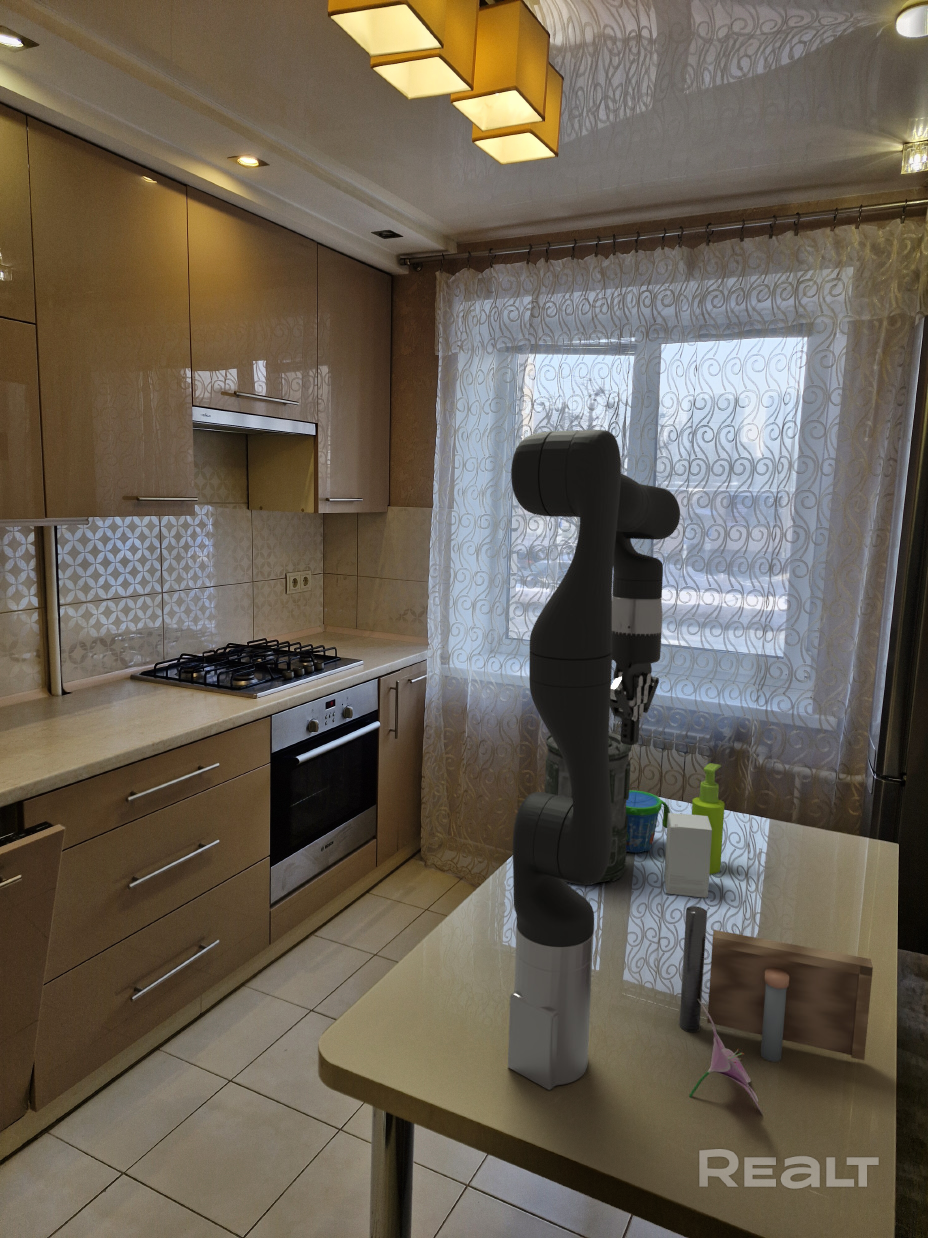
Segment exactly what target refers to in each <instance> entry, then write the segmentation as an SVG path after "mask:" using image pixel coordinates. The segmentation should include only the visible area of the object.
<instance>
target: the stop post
mask: <svg viewBox="0 0 928 1238" xmlns="http://www.w3.org/2000/svg"><path fill="white" fill-rule="evenodd" d="M764 980H765V982H766V988H765V1001H764V1015H763V1028H762V1035H761V1043H760V1044H761V1045H760V1055H761V1057H762V1058H763V1059H764V1060H765V1061H768V1062H772V1063H773V1062H774V1063H777V1062H780V1061H781V1060H782V1054H783V1053H782V1050H783V1041H784V1040H783V1028H784V1015H785V1003H786V990H787V987H788V986H789V975H788V974H787V973H786V972H785V971H783V970H780V969H776V968H769V969H766V970H765V978H764Z"/></svg>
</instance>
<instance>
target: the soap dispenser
mask: <svg viewBox="0 0 928 1238" xmlns="http://www.w3.org/2000/svg"><path fill="white" fill-rule="evenodd" d="M721 767H722V764H717V763H710V762H709V763H707V765H705V766H704V768H703V772H704V773H705V777H704V778H705V779H704V781H701V782H700V785H699V787H700V788H699V796H697V797H694V798H692V803H691V815H701V816H708V819H709V822H710V825H711V828H712V837H711V853H710V870H709V875H715V874H717V873H720V872H721V866H722V865H721V864H722V849H723V837H724V836H723V835H724V834H723V833H724V821H725V819H724V818H725V802H724V801H722V800H721V799H719V791H720V790H719V789H720V786H719V783H717V782H716V781H715V779H716V771H717V770H718V769H719V768H721Z"/></svg>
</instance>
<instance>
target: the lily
mask: <svg viewBox="0 0 928 1238" xmlns="http://www.w3.org/2000/svg"><path fill="white" fill-rule="evenodd" d="M698 1001H699V1000H698ZM699 1002H700V1001H699ZM700 1004H701V1008H702V1009H703V1010H704V1012H705V1014H706V1015H707V1018H708V1017H709V1019H710V1021H711V1023H712V1024H711V1023H709V1024H710V1027H711V1029H712V1032H713V1041H712V1049H711V1050H712V1051H711V1052H712V1053H711V1060H710V1061H711V1062H710V1067H709V1068H708V1070H707V1071H706V1072H705V1073H704V1074H703V1075H702V1076H701V1077H700V1078H699V1080H698V1081H697V1082H696V1084H695V1086H693V1088H692V1090H691V1092H690V1094H689V1095H688V1097H689V1098H692V1097H693V1096H694V1094H695V1092H696V1090H697V1089H698V1088H699V1086H700V1084H701V1083H702V1082H703V1081H704V1079H706V1077H707V1076H709V1075H710V1074H711V1073H712V1072H714V1073H717V1074H721V1075H723V1076H725V1077H727V1078H729V1079H731V1080H733V1081H734V1082H735V1083H738V1084H739V1085H741V1087H742V1088H744V1090H745V1091H746V1092H747V1093H748V1095H749V1096H750V1098H751V1099H752V1100H753V1102H754V1104H755V1105H756V1107H757V1109H758V1110H759V1112H760V1113H761V1114H763V1113H762V1109H761V1108H760V1106H759V1104H758V1103H759V1099H758V1096H757V1094H756V1092H755V1091H754V1090H753V1089H752V1087H751V1086H750V1085H749V1083H751V1081H752V1080H751V1078H750V1076H749V1075H748V1073H747V1070H746V1069H745V1068H744V1065H743V1063H742V1062H741V1061H740V1060H743V1058H741V1057H740V1058H739V1056H740V1055H741V1056H743V1055H744V1053H743V1051H742V1052H739V1053H738V1054H736V1053H737V1052H738V1051H739V1050H740V1049H739V1048H737V1049H736V1051H735V1052H733V1051H732V1050H731V1049H729V1048H726V1047H725V1045H724V1043H723V1041H722V1040H721V1037H720V1036H719V1035H718V1033H717V1029H716V1026H715V1024H714V1023H713V1021H712V1019H711V1017H710V1015H709V1014H708V1009H706V1007H705V1006H704V1005H703V1003H702V1001H701V1002H700Z"/></svg>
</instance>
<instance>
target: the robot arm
mask: <svg viewBox="0 0 928 1238" xmlns="http://www.w3.org/2000/svg"><path fill="white" fill-rule="evenodd" d="M621 461H622V459H621V452H620V447H619V443H618V441H617V439H616V436H615V435H614V434H613V433H612V432H610V431H608V430H605V429H584V430H580V429H579V430H577V429H576V430H556V431H554V430H553V431H552V430H550V431H542V432H541V431H540V432H536V433H533V434H530V435H528V436H526V437H524V438H523V439H522V440H521V441H520V442H519V444H518V445H517V447H516V448H515V451H514V453H513V457H512V461H511V470H510V471H511V472H510V474H511V476H510V477H511V479H510V480H511V485H512V486H511V487H512V491H513V495H514V498H515V499H516V501H517V503H518V504H519V505H520V506H521V508H522V509H523V510H525V511H526V512H528V513H530V514H533V515H535V516H540V517H541V516H542V517H563V518H579V530H578V536H577V537H578V538H577V542H576V547H575V549H574V554H573V557H572V560H571V562H570V564H569V566H568V569H567V571H566V572H565V575H564V576H563V578H562V580H561V581H560V583H559V585H558V586H557V587H556V589H555V591H554V592H553V593H552V595H551V596H550V598H549V599H548V601H547V602H546V604H545V605H544V607H543V609H542V610H541V612H540V613H539V615H538V617H537V619H536V620H535V622H534V624H533V627H532V629H531V631H530V632H531V633H530V634H529V635H530V636H529V673H528V674H529V675H528V676H529V691H530V696H531V699H532V701H533V703H534V706H535V709H536V711H537V712H538V714H539V716H540V718H541V720H542V722H543V724H544V726H545V728H546V729H547V731H548V732H549V734H551V736H552V738H553V740H554V741H555V743H556V745H557V747H558V749H559V750H560V752H561V754H562V756H563V759H564V761H565V764H566V767H567V770H568V773H569V777H570V783H571V789H572V798H573V799H572V798H567V797H563V796H558V795H554V794H549V793H545V792H542V791H541V792H540V791H536V792H532V793H530V794H528V795H527V796H525V798H524V800H522V802H521V803H520V805H519V807H518V810H517V813H516V816H515V820H514V824H513V825H514V826H513V830H512V831H513V833H512V870H513V871H512V874H513V878H512V879H513V881H512V882H513V906H514V911H515V914H516V924H515V925H516V927H515V928H516V931H515V932H516V933H515V952H514V953H515V954H514V956H515V957H514V981H513V982H514V985H513V986H514V987H513V992H511V994H510V995H509V1018H508V1019H509V1020H508V1022H509V1023H508V1024H509V1025H508V1047H507V1049H508V1050H507V1051H508V1052H507V1055H508V1056H507V1068H509V1069H511V1070H513V1071H515V1072H516V1073H518V1074H519V1075H522V1076H523V1077H524V1078H527V1079H529V1080H531V1081H532V1082H534V1083H536V1084H538V1085H540V1086H541V1087H543V1088H544V1089H546V1090H548V1091H549V1090H550V1091H551V1090H552V1089H553V1088H554V1087H555V1086H560V1085H566V1084H570V1083H573V1082H575V1081H577V1080H579V1079H580V1078H581V1077H582V1076H583V1075H584V1074H585V1073H586V1071H587V1069H588V1064H589V1063H588V1061H589V1041H590V1040H589V1039H590V1038H589V1037H590V1021H591V1020H590V1018H591V1016H590V1015H591V997H592V996H591V992H592V968H593V949H594V931H595V913H594V908H593V906H592V904H591V903H590V901H588V899H587V898H585V897H584V896H583V894H580V893H579V892H577V891H576V890H575V889H574V888H572V887H571V886H570V885H569V884H568V882H566V881H564V880H568V881H572V882H576V883H580V884H579V885H581V884H588V885H587V886H590V885H589V884H591V885H593V884H596V883H597V882H598V881H599V880H600V879H601V878H602V877H603V875H604V874H605V872H606V869H607V867H608V864H609V859H610V854H611V846H612V808H611V792H610V775H609V750H608V748H609V732H610V710H611V712H612V713H611V714H612V715H613V716H614V717H617V718H619V719H621V727H620V736H621V742H622V743H623V744H627V745H631V746H634V745H636V744H638V743H639V740H640V739H639V738H640V737H639V736H640V720H641V719H642V718H643V715H644V714H647V713H648V712H649V710H650V707H651V704H652V701H653V700H654V697H655V694H656V691H657V689H658V686H659V683H660V682H659V681H660V679H659V677H655V676H653V675H652V671H653V669H652V668H653V667H652V664H655V663H658V662H659V661H660V660H661V653H662V652H661V649H662V631H663V630H662V629H663V603H662V602H663V601H662V600H663V598H662V597H663V579H664V578H663V577H664V565H663V562H662V560H660V559H659V558H657V557H654V556H651V555H646V554H644V553H640V552H638V551H637V550H636V549H635V548H634V546H633V544H632V541H631V540H632V539H633V540H663V539H667V538H669V537H670V536H671V535H673V533H675V531H676V530H677V529H678V526H679V523H680V520H681V508H680V505H679V501H678V500H677V498H676V497H675V495H674V494H673V493H672V492H671V491H670V490H668V489H666V488H663V487H658V486H655V485H654V486H653V485H649V484H641V483H639V482H637V481H636V480H635V479H633V478H631V477H629V475H628V476H627V475H625V474H623V473H622V462H621ZM613 661H614V662H615V668H614V672H613V671H612V668H613V666H612V665H613ZM612 672H613V673H612ZM612 676H613V679H614V680H613V682H612ZM563 879H564V880H563ZM598 883H599V882H598Z"/></svg>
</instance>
